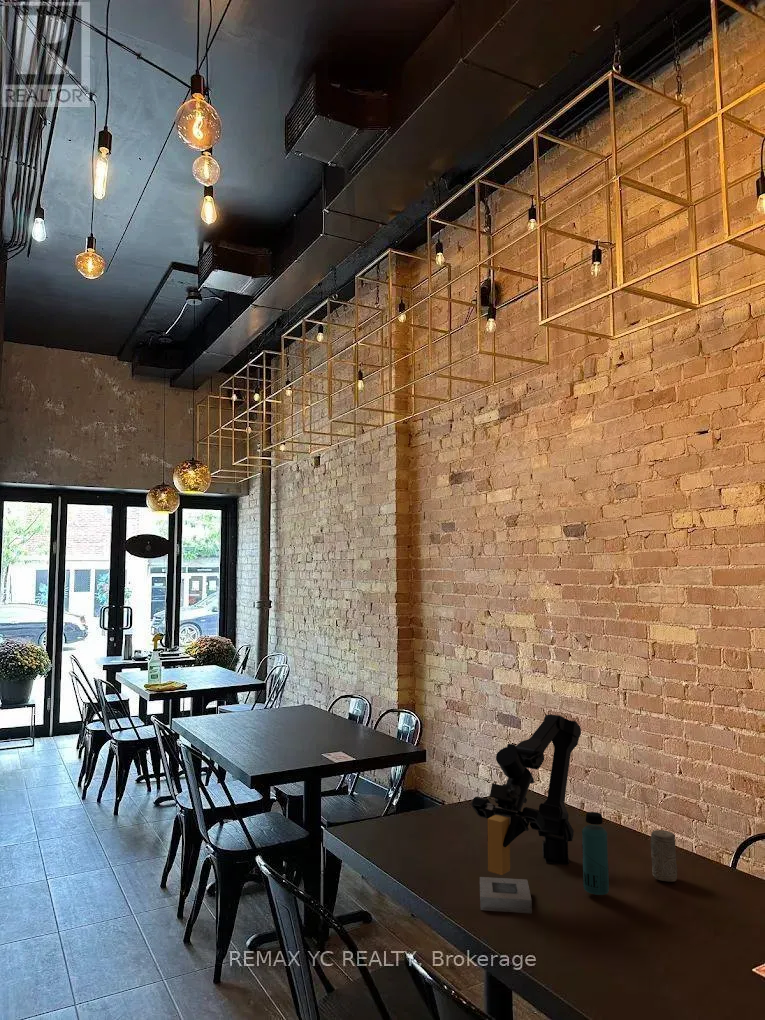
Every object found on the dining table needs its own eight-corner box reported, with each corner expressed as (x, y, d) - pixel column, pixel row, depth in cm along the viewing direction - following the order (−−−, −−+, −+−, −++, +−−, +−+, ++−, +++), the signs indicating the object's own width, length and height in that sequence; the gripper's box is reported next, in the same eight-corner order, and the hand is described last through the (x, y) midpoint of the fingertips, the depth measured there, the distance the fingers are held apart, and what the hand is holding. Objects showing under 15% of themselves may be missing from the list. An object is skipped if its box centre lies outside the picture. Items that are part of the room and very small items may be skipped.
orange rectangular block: (496, 866, 177) (495, 814, 178) (510, 870, 174) (509, 817, 175) (488, 871, 173) (487, 818, 175) (502, 875, 171) (501, 822, 172)
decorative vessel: (678, 876, 188) (676, 830, 189) (677, 887, 181) (675, 838, 182) (653, 872, 190) (651, 826, 192) (651, 882, 183) (649, 835, 185)
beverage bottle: (610, 892, 177) (607, 810, 180) (609, 903, 171) (607, 818, 173) (583, 889, 179) (581, 807, 182) (582, 899, 173) (580, 815, 175)
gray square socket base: (527, 892, 177) (527, 879, 178) (531, 913, 165) (531, 900, 166) (479, 889, 179) (479, 876, 179) (480, 910, 167) (480, 896, 167)
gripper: (474, 764, 185) (451, 818, 175) (538, 776, 174) (518, 835, 164) (489, 788, 190) (468, 842, 181) (553, 802, 179) (534, 860, 169)
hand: (496, 844), depth 173 cm, fingers closed on orange rectangular block, 4 cm apart
